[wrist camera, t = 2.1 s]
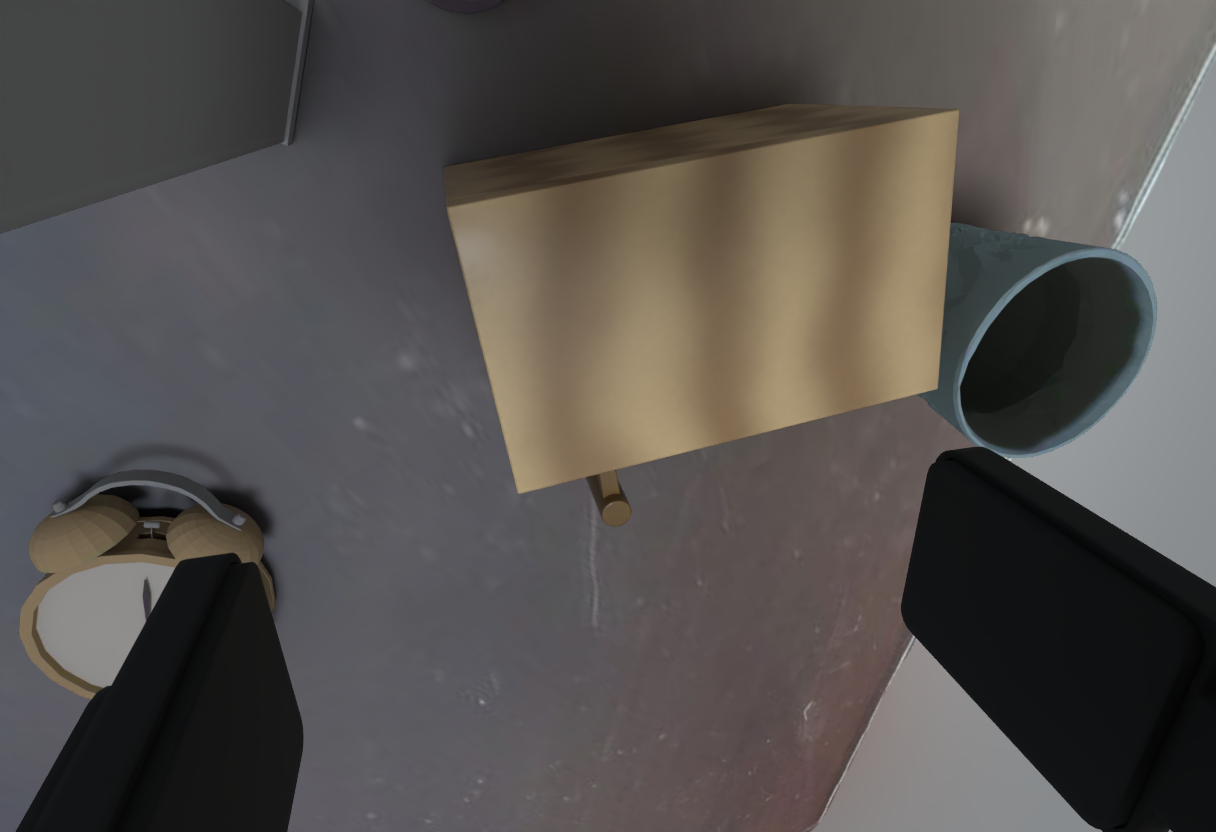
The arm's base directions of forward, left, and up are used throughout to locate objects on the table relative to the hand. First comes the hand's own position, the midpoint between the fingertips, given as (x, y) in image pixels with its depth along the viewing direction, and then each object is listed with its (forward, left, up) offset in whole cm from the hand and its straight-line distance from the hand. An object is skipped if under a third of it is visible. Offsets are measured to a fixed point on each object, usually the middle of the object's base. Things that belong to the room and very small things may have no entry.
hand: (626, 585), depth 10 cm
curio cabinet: (-8, +3, -28) cm, 30 cm away
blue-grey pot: (-23, +8, -29) cm, 38 cm away
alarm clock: (+21, +15, -29) cm, 39 cm away
